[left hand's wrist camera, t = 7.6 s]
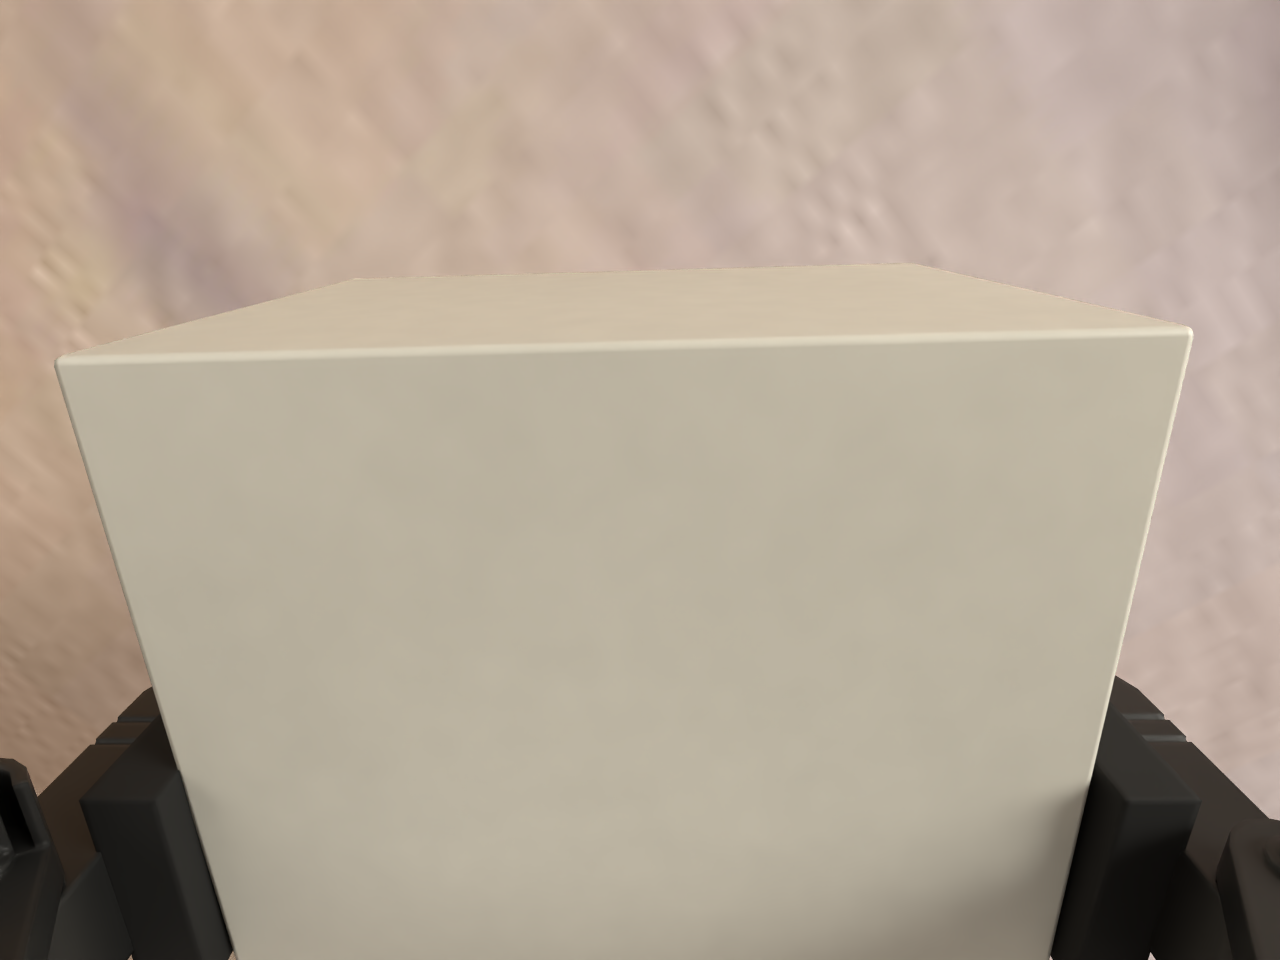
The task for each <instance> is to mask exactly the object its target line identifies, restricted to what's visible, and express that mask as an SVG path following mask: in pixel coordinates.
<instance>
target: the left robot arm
mask: <svg viewBox="0 0 1280 960" xmlns="http://www.w3.org/2000/svg"><path fill="white" fill-rule="evenodd" d="M232 951H233V948H232V944H231V941H230V938H229V935H228V931H227V928H226V925H225V922H224V918H223V915H222V912H221V909H220V905H219V902H218V899H217V896H216V892H215V889H214V886H213V882H212V879H211V876H210V873H209V869H208V866H207V863H206V860H205V856H204V853H203V850H202V847H201V843H200V840H199V837H198V834H197V830H196V827H195V824H194V821H193V817H192V814H191V810H190V806H189V803H188V799H187V796H186V792H185V789H184V785H183V782H182V778H181V775H180V771H179V770H178V768H177V765H176V762H175V759H174V755H173V752H172V749H171V746H170V742H169V739H168V736H167V733H166V729H165V726H164V723H163V720H162V716H161V713H160V710H159V707H158V703H157V700H156V697H155V694H154V690H153V687H150V688H149V689H147V690H145V691H144V692H143V693H142V694H141V695H140V696H139V697H138V698H137V699H136V700H135V701H134V702H133V703H132V704H131V705H130V706H129V707H128V708H127V709H126V710H125V711H124V712H123V713H122V714H121V715H120V716H119V717H118V721H117V722H113V723H112V724H111V725H110V726H109V727H108V728H107V729H106V730H105V731H104V732H103V733H102V734H101V735H100V736H99V737H98V738H97V739H96V743H95V745H89V746H88V747H87V748H86V749H85V750H84V751H83V752H82V753H81V754H80V755H79V756H78V757H77V758H76V759H75V760H74V761H73V762H72V763H71V764H70V765H69V766H68V767H67V768H66V769H65V770H64V771H63V772H62V773H61V774H60V775H59V776H58V777H57V778H56V779H55V780H54V781H53V782H52V783H51V784H50V785H49V786H48V787H47V788H46V789H45V790H44V791H43V792H42V793H41V794H40V795H39V796H38V797H37V795H36V792H35V790H34V787H33V784H32V782H31V779H30V776H29V773H28V771H27V768H26V767H25V766H23V765H22V764H20V763H19V762H17V761H15V760H14V759H6V758H0V960H128V958H129V957H130V955H132V958H133V960H228V959H229V957H230V955H231V953H232ZM1150 952H1151V953H1152V955H1153V956H1154V958H1155V959H1156V960H1280V821H1279V820H1274V819H1269V818H1268V817H1267V816H1266V815H1265V814H1264V813H1263V812H1262V811H1261V810H1260V809H1259V808H1258V807H1257V806H1256V805H1255V804H1254V803H1253V802H1252V801H1251V800H1250V799H1249V798H1248V797H1247V796H1246V795H1245V794H1244V793H1243V792H1242V791H1241V790H1240V789H1239V788H1237V787H1236V786H1235V785H1234V784H1233V783H1232V782H1231V781H1230V780H1229V779H1228V778H1227V777H1226V776H1225V775H1224V774H1223V773H1222V772H1221V771H1220V770H1219V769H1218V768H1217V767H1216V766H1215V765H1214V764H1213V763H1212V762H1211V761H1210V760H1209V759H1208V758H1207V757H1206V756H1205V755H1204V754H1203V753H1202V752H1201V751H1200V750H1199V749H1198V748H1197V747H1196V746H1195V745H1194V744H1193V743H1192V742H1187V741H1186V736H1185V735H1184V734H1183V733H1182V732H1181V731H1180V730H1179V729H1178V728H1177V727H1176V726H1175V725H1174V724H1173V723H1172V722H1171V721H1170V720H1165V719H1164V714H1163V713H1162V712H1161V711H1160V710H1159V709H1158V708H1157V707H1156V706H1155V705H1153V704H1152V703H1151V702H1150V701H1149V700H1148V699H1147V698H1146V697H1145V696H1144V695H1143V694H1142V693H1141V692H1140V691H1139V690H1138V689H1137V688H1135V687H1134V686H1132V685H1130V684H1129V683H1127V682H1125V681H1124V680H1122V679H1120V678H1119V677H1117V676H1115V677H1114V682H1113V686H1112V690H1111V695H1110V699H1109V703H1108V708H1107V712H1106V716H1105V721H1104V725H1103V729H1102V734H1101V738H1100V742H1099V747H1098V751H1097V755H1096V760H1095V764H1094V768H1093V772H1092V777H1091V781H1090V785H1089V790H1088V794H1087V798H1086V803H1085V807H1084V811H1083V816H1082V820H1081V824H1080V829H1079V833H1078V837H1077V842H1076V846H1075V850H1074V855H1073V859H1072V863H1071V868H1070V872H1069V876H1068V881H1067V885H1066V889H1065V894H1064V898H1063V902H1062V907H1061V911H1060V915H1059V919H1058V924H1057V928H1056V932H1055V937H1054V941H1053V945H1052V950H1051V954H1050V955H1051V957H1052V959H1053V960H1148V958H1149V955H1150Z"/></svg>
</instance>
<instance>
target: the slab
mask: <svg viewBox="0 0 1280 960" xmlns="http://www.w3.org/2000/svg"><path fill="white" fill-rule="evenodd" d="M1192 340H1193V331H1192V329H1191V328H1189V327H1187V326H1185V325H1182V324H1177V323H1173V322H1169V321H1164V320H1160V319H1156V318H1151V317H1147V316H1142V315H1138V314H1134V313H1129V312H1125V311H1121V310H1116V309H1112V308H1107V307H1103V306H1099V305H1094V304H1090V303H1086V302H1081V301H1077V300H1072V299H1068V298H1064V297H1059V296H1055V295H1051V294H1046V293H1042V292H1037V291H1033V290H1029V289H1024V288H1020V287H1016V286H1011V285H1007V284H1002V283H998V282H994V281H989V280H985V279H981V278H976V277H972V276H967V275H963V274H959V273H954V272H950V271H946V270H941V269H937V268H932V267H928V266H924V265H919V264H915V263H893V264H858V265H822V266H787V267H752V268H717V269H682V270H647V271H611V272H576V273H541V274H506V275H471V276H435V277H400V278H365V279H351V280H347V281H344V282H340V283H336V284H332V285H328V286H325V287H321V288H317V289H313V290H309V291H305V292H302V293H298V294H294V295H290V296H286V297H283V298H279V299H275V300H271V301H267V302H263V303H260V304H256V305H252V306H248V307H244V308H240V309H237V310H233V311H229V312H225V313H221V314H218V315H214V316H210V317H206V318H202V319H198V320H195V321H191V322H187V323H183V324H179V325H176V326H172V327H168V328H164V329H160V330H156V331H153V332H149V333H145V334H141V335H137V336H133V337H130V338H126V339H122V340H118V341H114V342H111V343H107V344H103V345H99V346H95V347H91V348H88V349H84V350H80V351H76V352H72V353H69V354H65V355H62V356H60V357H58V358H57V359H56V360H55V363H54V368H55V371H56V374H57V378H58V381H59V384H60V387H61V391H62V394H63V397H64V400H65V404H66V407H67V410H68V413H69V417H70V420H71V423H72V426H73V430H74V433H75V436H76V439H77V443H78V446H79V449H80V452H81V456H82V459H83V462H84V466H85V469H86V472H87V475H88V479H89V482H90V485H91V488H92V492H93V495H94V498H95V501H96V505H97V508H98V511H99V514H100V518H101V521H102V524H103V527H104V531H105V534H106V537H107V540H108V544H109V547H110V550H111V553H112V557H113V560H114V563H115V566H116V570H117V573H118V576H119V580H120V583H121V586H122V589H123V593H124V596H125V599H126V602H127V606H128V609H129V612H130V615H131V619H132V622H133V625H134V628H135V632H136V635H137V638H138V641H139V645H140V648H141V651H142V654H143V658H144V661H145V664H146V667H147V671H148V674H149V677H150V681H151V684H152V687H153V690H154V694H155V697H156V700H157V703H158V707H159V710H160V713H161V716H162V720H163V723H164V726H165V729H166V733H167V736H168V739H169V742H170V746H171V749H172V752H173V755H174V759H175V762H176V765H177V768H178V770H179V771H180V775H181V778H182V782H183V785H184V789H185V792H186V796H187V799H188V803H189V806H190V810H191V814H192V817H193V821H194V824H195V827H196V830H197V834H198V837H199V840H200V843H201V847H202V850H203V853H204V856H205V860H206V863H207V866H208V869H209V873H210V876H211V879H212V882H213V886H214V889H215V892H216V896H217V899H218V902H219V905H220V909H221V912H222V915H223V918H224V922H225V925H226V928H227V931H228V935H229V938H230V941H231V944H232V948H233V951H234V954H235V957H236V960H1049V958H1050V954H1051V950H1052V945H1053V941H1054V937H1055V932H1056V928H1057V924H1058V919H1059V915H1060V911H1061V907H1062V902H1063V898H1064V894H1065V889H1066V885H1067V881H1068V876H1069V872H1070V868H1071V863H1072V859H1073V855H1074V850H1075V846H1076V842H1077V837H1078V833H1079V829H1080V824H1081V820H1082V816H1083V811H1084V807H1085V803H1086V798H1087V794H1088V790H1089V785H1090V781H1091V777H1092V772H1093V768H1094V764H1095V760H1096V755H1097V751H1098V747H1099V742H1100V738H1101V734H1102V729H1103V725H1104V721H1105V716H1106V712H1107V708H1108V703H1109V699H1110V695H1111V690H1112V686H1113V682H1114V677H1115V673H1116V669H1117V664H1118V660H1119V656H1120V651H1121V647H1122V643H1123V638H1124V634H1125V630H1126V626H1127V621H1128V617H1129V613H1130V608H1131V604H1132V600H1133V595H1134V591H1135V587H1136V582H1137V578H1138V574H1139V569H1140V565H1141V561H1142V556H1143V552H1144V548H1145V543H1146V539H1147V535H1148V530H1149V526H1150V522H1151V517H1152V513H1153V509H1154V504H1155V500H1156V496H1157V491H1158V487H1159V483H1160V479H1161V474H1162V470H1163V466H1164V461H1165V457H1166V453H1167V448H1168V444H1169V440H1170V435H1171V431H1172V427H1173V422H1174V418H1175V414H1176V409H1177V405H1178V401H1179V396H1180V392H1181V388H1182V383H1183V379H1184V375H1185V370H1186V366H1187V362H1188V357H1189V353H1190V349H1191V345H1192Z"/></svg>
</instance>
